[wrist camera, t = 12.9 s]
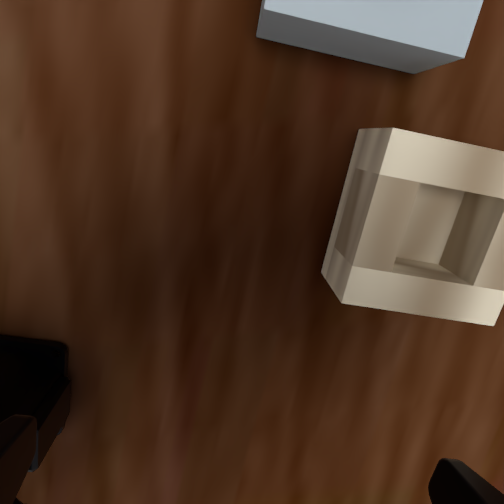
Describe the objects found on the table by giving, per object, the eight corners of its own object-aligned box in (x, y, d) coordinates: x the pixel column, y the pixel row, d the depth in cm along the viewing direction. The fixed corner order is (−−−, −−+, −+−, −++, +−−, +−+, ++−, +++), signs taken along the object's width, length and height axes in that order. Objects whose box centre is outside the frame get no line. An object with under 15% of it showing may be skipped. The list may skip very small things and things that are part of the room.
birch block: (320, 272, 21) (341, 303, 17) (359, 129, 18) (392, 127, 15) (447, 292, 22) (493, 326, 18) (499, 158, 19) (565, 164, 16)
